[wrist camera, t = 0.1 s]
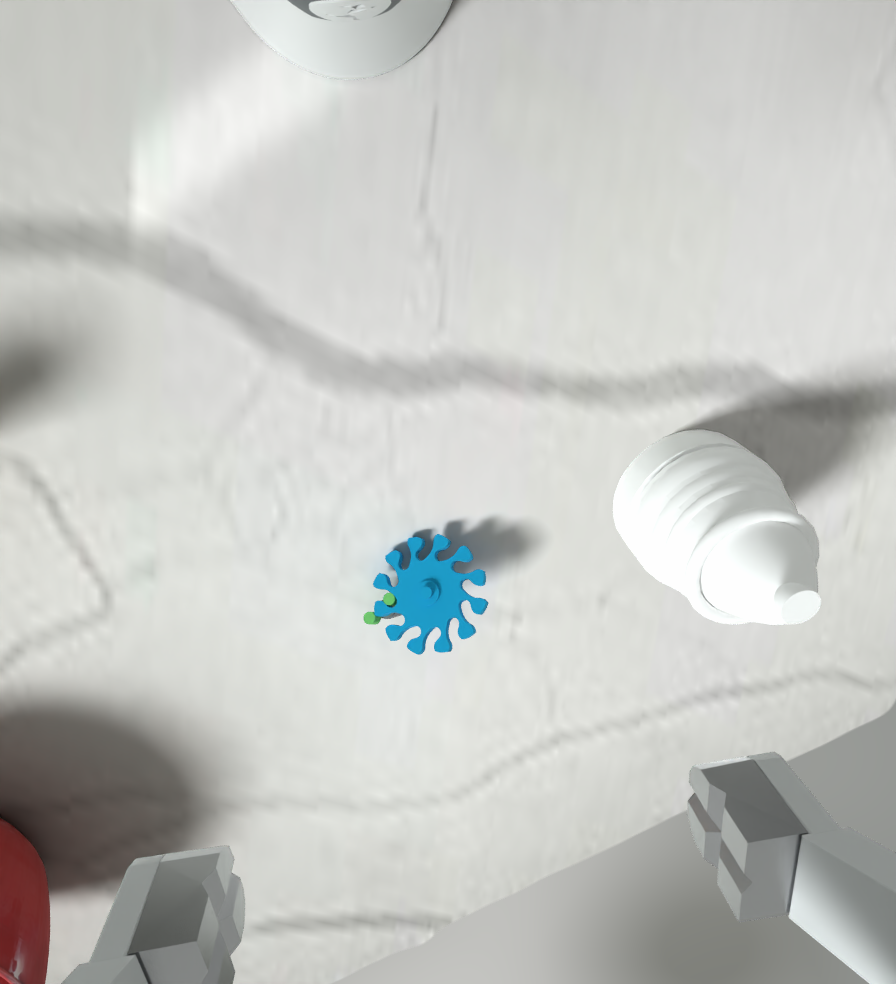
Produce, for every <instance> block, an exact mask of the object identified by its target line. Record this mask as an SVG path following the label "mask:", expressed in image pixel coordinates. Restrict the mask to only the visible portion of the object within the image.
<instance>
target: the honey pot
mask: <svg viewBox="0 0 896 984" xmlns="http://www.w3.org/2000/svg"><path fill="white" fill-rule="evenodd" d="M613 516H614V520H615V525H616V528H617V530H618V532H619V533H620V535H621V537H622V538H623V540H624V541H625V543H626V544H627V546H628V547H629V548H630V550H631V551H632V552H633V554H634V555H635V557H636V558H637V559H638V560H639V562H640V563H641V564H642V565H643V567H644V569H645V570H646V571H647V572H649V573H650V574H651V575H652V576H653V577H654V578H656V579H657V580H658V581H659V582H661V583H663V584H665V585H668V586H670V587H672V588H674V589H675V590H678V591H680V592H681V593H682V594H683V595H684V596H686V597H688V599H689V601H690V603H691V605H692V606H693V608H694V609H695V610H697V611H698V612H699V613H700V614H701V615H702V616H704V617H705V618H707V619H710V620H712V621H715V622H717V623H724V624H733V625H736V624H744V623H752V622H757V623H763V624H771V625H786V624H800V623H803V622H805V621H807V620H809V619H810V618H812V617H813V616H814V615H815V614H816V613H817V612H818V610H819V608H820V606H821V597H820V595H819V594H818V577H817V569H816V566H817V562H818V559H819V540H818V537H817V535H816V532H815V530H814V527H813V526H812V525H811V524H810V523H809V522H808V521H807V520H806V518H805V517H804V516H802V515H800V514H798V512H797V509H796V507H795V504H794V503H793V502H792V501H791V499H790V498H789V496H788V494H787V492H786V490H785V488H784V485H783V483H782V481H781V478H780V477H779V476H778V475H777V473H776V472H775V471H774V470H773V469H772V468H771V467H770V466H769V465H768V464H767V463H766V462H765V461H763V460H761V459H760V458H759V457H757V456H756V455H755V454H753V453H752V452H751V451H749V450H748V449H746V448H745V447H743V446H742V445H740V444H739V443H737V442H736V441H735V440H733V439H731V438H729V437H727V436H725V435H723V434H722V433H720V432H715V431H709V430H704V429H698V430H686V431H681V432H678V433H675V434H672V435H669V436H666V437H663V438H662V439H660V440H658V441H657V442H655V443H653V444H652V445H650V446H649V447H647V448H646V449H644V450H643V451H642V452H641V453H640V454H639V455H638V456H637V457H636V458H635V459H634V460H633V461H632V462H631V463H630V465H629V466H628V468H627V469H626V471H625V472H624V474H623V475H622V477H621V478H620V481H619V484H618V486H617V489H616V492H615V494H614V503H613Z"/></svg>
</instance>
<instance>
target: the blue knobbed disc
mask: <svg viewBox="0 0 896 984" xmlns="http://www.w3.org/2000/svg"><path fill="white" fill-rule="evenodd" d="M450 544H451V541H450V540H449V539H447V538H446V537H444V536H442V535H439V534H437V535H436V536H435V537H434V542H433V548H432V550H431V552H430V554H429V555H428V556H427V557H426V558H425V559H424V560H422V561H420V560H419V557H418V555H419V552H420V551H421V550H422V549H423V548H424V546H425V541H424V539H422V538H419V537H412V538H409V539H408V546H409V548H410V551H411V561H410V565H409V567H408V568H407V569H406V570H403V569H402V566H401V564H402V560H403V555H402V553H401V552H400V551H397V550H395V551H392V552H390V553H389V554H388V555H386V556H385V559H386V561H387V563H389V564H390V565H392V566H393V567H394V569H395V570H396V572H397V575H398V580H399V582H398V584H397V586H395V587H393V586H392V585H391V582H390V578H389V577H388V576H387V575H385V574H381V573H379V574H378V575H377V577H376V579H375V581H374V583H373V585H374V587H376V588H378V589H385V590H388V591H389V592H391V593H387V594H385V595H384V598H383V600H382V601H376V602H375V607H374V612H367V613H366V614H365V615H364V622H365V623H366V624H378V623H379V622H380V620H381V618H384V619H391V618H394V617H397V616H400V615H403V616H404V617H405V623H404V624H403V625H402V626H399V625H389V626H387V627H386V633H387V635H388V637H389V639H390V640H391V641H397V640H399V639H400V638H401V637H402V635H403V634H404V632H405V631H406V630H408V629H409V628H412V627H414V626H419V627H420V629H421V635H420V636H419V637H418V638H415V639H412V640H410V641H409V642H408V645H407V648H408V649H409V650H410V651H412V652H414V653H416V654H422V653H423V652H424V650H425V643H426V639H427V637H428V635H429V634H430V632H431V631H432V630H433V629H434V628H435V627H438V628H439V629H440V630H441V636H440V638H439V639H438V640H437V641H436V642H435V645H434V649H435V651H437V652H450V651H451V650H452V643H451V641H450V639H449V634H448V630H449V624H450V621H451V619H453V618H457V619H458V620H459V628H458V635H459V637H460V638H461V639H466V638H469V637H471V636H472V635H473V634H475V633H476V630H475V627H474V626H473V625H471V624H470V623H469V622H468V621H467V620H466V619H465V617H464V616H463V613H462V609H461V604H462V602H463V601H464V600H468V601H469V602H470V604H471V608H472V610H473V612H474V613H476V614H480V615H482V614H483V613H484V611H485V610H486V608H487V605H488V602H487V601H486V600H485V599H482V598H474V597H472V596H470V595H469V594H468V593H467V592H466V591H465V590H464V589H463V588H462V583H463V582H464V581H465V580H467V579H469V580H470V581H471V582H472V583H474V584H475V585H478V586H483V585H485V582H486V575H485V571H483V570H480V569H477V570H475V571H473V572H471V573H467V574H461V573H456V572H455V571H454V568H453V566H454V564H455V563H456V562H457V561H462V562H470V561H471V560H472V559H473V555H472V553H471V551H470V550H469V549H468V547H466V546H461V547H460V548H459V549H458V550H457V552H456V553H455V554H454V555H453V556H452V557H451V558H449V559H447V560H444V561H439V560H438V558H437V555H438V553H439V552H440V551H442V550H445V549H447V548H449V546H450Z"/></svg>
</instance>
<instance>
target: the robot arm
mask: <svg viewBox="0 0 896 984" xmlns="http://www.w3.org/2000/svg"><path fill="white" fill-rule="evenodd" d="M230 1H231V2H232V3H233V5H234V6H235V7H236V9H237V10H238V11H239V13H240V14H241V15H242V17H243V18H244V19H245V21H246V22H247V23H248V25H249V26H250V27H251V28H252V29H253V31H254V32H255V33H256V34H257V35H258V36H259V37H260V38H261V39H262V40H263V41H264V42H265V43H266V44H267V45H268V46H269V47H270V48H271V49H273V50H274V51H275V52H276V53H278V54H279V55H280V56H282V57H283V58H285V59H286V60H288V61H289V62H291V63H292V64H294V65H296V66H298V67H300V68H302V69H304V70H306V71H309V72H311V73H314V74H317V75H320V76H323V77H328V78H333V79H341V80H358V79H366V78H371V77H375V76H378V75H382V74H384V73H387V72H389V71H391V70H393V69H395V68H397V67H399V66H401V65H402V64H404V63H405V62H407V61H408V60H409V59H411V58H412V57H413V56H415V55H416V54H417V53H418V52H419V51H420V50H421V49H422V48H423V47H424V46H425V45H426V44H427V43H428V42H429V40H430V39H431V38H432V37H433V35H434V34H435V32H436V31H437V30H438V28H439V27H440V25H441V23H442V22H443V20H444V18H445V16H446V14H447V12H448V10H449V8H450V6H451V3H452V1H453V0H230ZM689 783H690V785H691V787H692V788H693V790H694V792H695V793H694V794H693V795H692V796H691V797H690V799H689V800H688V813H687V816H688V820H689V825H690V829H691V833H692V835H693V838H694V841H695V843H696V846H697V847H698V849H699V851H700V852H701V855H702V857H703V859H705V860H706V861H707V862H709V863H710V864H712V865H713V866H715V867H716V868H718V879H717V884H718V886H719V888H720V890H721V891H722V893H723V895H724V896H725V899H726V900H727V902H728V904H729V906H730V907H731V909H732V911H733V913H734V915H735V917H736V918H737V920H738V922H744V921H751V920H757V919H763V918H769V917H777V916H783V915H789V918H790V919H791V920H792V921H794V922H795V923H796V924H797V925H799V926H800V927H801V928H802V929H803V930H805V931H806V932H807V933H808V934H809V935H811V936H812V937H813V938H814V939H816V940H817V941H818V942H819V943H820V944H822V945H823V946H824V947H826V948H827V949H828V950H829V951H830V952H832V953H833V954H834V955H835V956H836V957H838V958H839V959H840V960H841V961H843V962H844V963H845V964H846V965H848V966H849V967H850V968H851V969H852V970H854V971H855V972H856V973H857V974H858V975H860V976H861V977H862V978H863V979H865V980H866V981H867V982H868V983H869V984H896V852H894V851H892V850H890V849H888V848H887V847H885V846H883V845H881V844H879V843H878V842H876V841H874V840H872V839H870V838H868V837H867V836H865V835H863V834H861V833H859V832H858V831H856V830H854V829H852V828H850V827H846V828H840V827H839V825H838V824H837V823H836V822H835V820H834V819H833V818H832V817H831V816H830V814H829V813H828V812H827V811H826V810H825V808H824V807H823V806H822V805H821V803H820V802H819V801H818V800H817V799H816V798H815V797H814V795H813V794H812V793H811V791H810V790H809V789H808V788H807V787H806V785H805V784H804V783H803V782H802V781H801V779H800V778H799V777H798V776H797V775H796V773H795V772H794V771H793V770H792V769H791V767H790V766H789V765H788V764H787V763H786V761H785V760H784V759H783V758H782V757H781V755H779V754H777V753H776V752H769V753H763V754H758V755H752V756H747V757H738V758H732V759H727V760H721V761H716V762H711V763H705V764H700V765H694V766H692V768H691V770H690V774H689ZM233 863H234V857H233V854H232V852H231V849H230V846H217V847H210V848H203V849H196V850H189V851H182V852H175V853H167V854H163V855H156V856H149V857H143V858H136V859H135V860H134V861H133V862H132V864H131V865H130V866H129V867H128V869H127V871H126V873H125V876H124V878H123V881H122V883H121V885H120V888H119V890H118V893H117V895H116V898H115V900H114V903H113V905H112V908H111V910H110V912H109V915H108V917H107V920H106V922H105V925H104V927H103V930H102V932H101V934H100V937H99V939H98V942H97V944H96V947H95V949H94V952H93V954H92V956H91V959H90V961H89V963H84V964H79V965H78V966H77V967H76V968H75V969H74V971H73V972H72V973H71V974H70V975H69V976H68V977H67V978H66V979H65V980H64V981H63V982H62V983H61V984H233V980H234V975H235V970H234V967H233V964H232V961H231V958H230V955H231V954H232V953H233V952H234V950H235V949H236V948H237V946H238V945H239V944H240V942H241V939H242V933H243V928H244V919H245V897H244V889H243V885H242V882H241V879H240V877H238V876H236V875H235V874H233V873H232V868H233Z"/></svg>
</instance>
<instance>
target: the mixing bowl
mask: <svg viewBox="0 0 896 984" xmlns="http://www.w3.org/2000/svg"><path fill="white" fill-rule="evenodd" d="M49 942H50V903H49V891H48V883H47V877H46V872H45V867H44V865H43V862H42V860H41V858H40V856H39V855H38V853H37V851H36V849H35V848H34V846H33V845H32V844H31V843H30V842H29V841H28V840H27V839H26V838H25V836H24V835H22V834H21V833H20V832H19V831H18V830H17V829H16V828H15V827H14V826H12V825H11V824H10V823H8V822H7V821H5V820H3V819H1V818H0V984H45V980H46V973H47V964H48V955H49Z"/></svg>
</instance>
